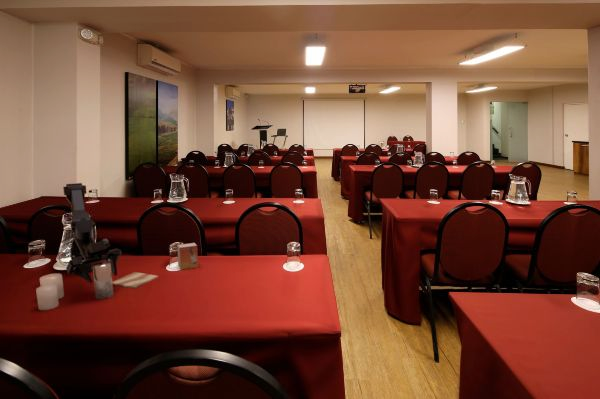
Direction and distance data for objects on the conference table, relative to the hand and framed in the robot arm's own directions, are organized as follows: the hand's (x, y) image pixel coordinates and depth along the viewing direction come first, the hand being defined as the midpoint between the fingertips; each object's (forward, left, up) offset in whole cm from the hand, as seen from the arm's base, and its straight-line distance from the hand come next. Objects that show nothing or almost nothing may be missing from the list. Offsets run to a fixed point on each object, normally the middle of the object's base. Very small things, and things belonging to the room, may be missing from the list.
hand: (104, 278), depth 142 cm
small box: (+8, +38, -7) cm, 40 cm away
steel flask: (-1, 0, -7) cm, 7 cm away
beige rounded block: (-18, -8, -7) cm, 21 cm away
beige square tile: (-2, +16, -7) cm, 18 cm away
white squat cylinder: (-12, -14, -7) cm, 20 cm away
